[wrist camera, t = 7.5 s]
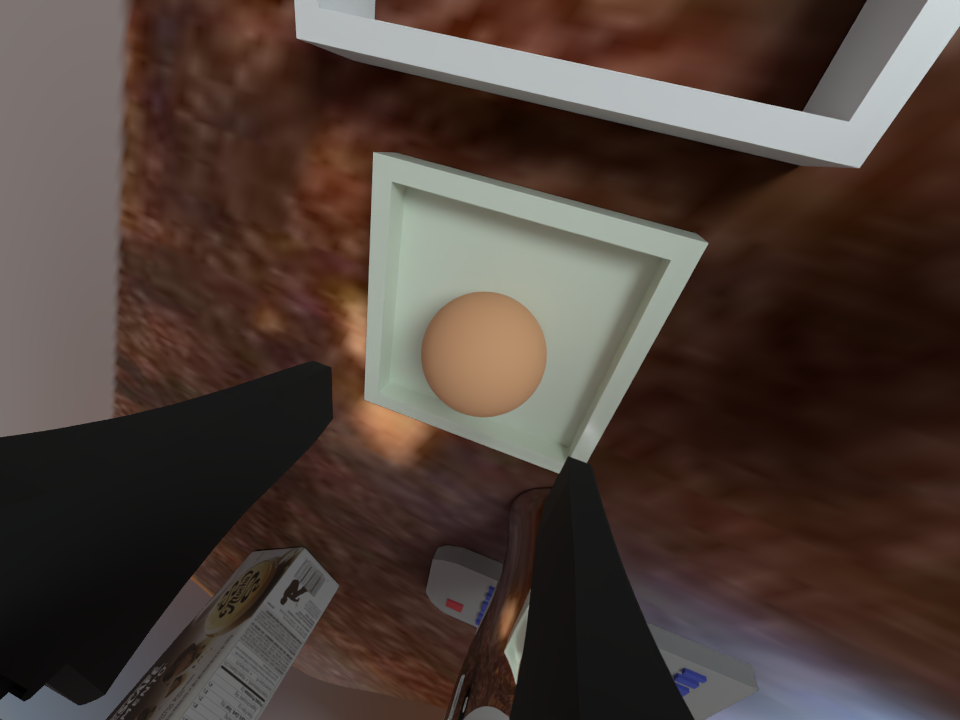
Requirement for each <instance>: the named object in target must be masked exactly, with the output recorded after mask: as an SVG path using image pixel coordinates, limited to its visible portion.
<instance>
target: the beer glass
mask: <svg viewBox="0 0 960 720" xmlns="http://www.w3.org/2000/svg"><path fill="white" fill-rule="evenodd" d="M551 489H552V488H539V489H534V490H530V491H527V492H525V493H523V494H521V495H519V496H518V497H517V498H516V499H515V500H514V502H513V503H512V505H511V507H510V511H509V518H508V538H507V549H506V554H505V560H504V564H503V567H502V570H501V573H500V577H499V579H498V582H497V584H496V587H495V589H494V591H493V594H492V596H491V599H490V601H489V603H488V605H487V608H486V610H485V612H484V614H483V617H482V619H481V621H480V624H479V626H478V628H477V631H476V633H475V635H474V638H473V640H472V642H471V645H470V647H469V649H468V652H467V654H466V657H465V660H464V662H463V665H462V667H461V670H460V673H459V675H458V678H457V681H456V683H455V686H454V689H453V692H452V695H451V699H450V702H449V705H448V708H447V712H446V715H445V718H444V720H509V718H510V713H511V708H512V704H513V699H514V694H515V689H516V684H517V679H518V674H519V669H520V664H521V659H522V654H523V648H524V641H525V634H526V627H527V618H528V610H529V601H530V592H531V583H532V574H533V565H534V557H535V548H536V540H537V535H538V530H539V526H540V521H541V517H542V513H543V508H544V504H545V501H546V499H547V497H548V495H549V493H550V491H551Z"/></svg>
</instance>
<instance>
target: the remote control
mask: <svg viewBox="0 0 960 720" xmlns="http://www.w3.org/2000/svg"><path fill="white" fill-rule="evenodd" d="M502 567H503V564H502V563H499V562H497V561H495V560H492V559H490V558H487V557H485V556H482V555H480V554H477V553H475V552H473V551H470V550H468V549H465V548H462V547H456V546H449V545H447V546H442V547H438V548H437V550H436V553H435V555H434V557H433V560H432V564H431V569H430V574H429V579H428V583H427V588H426V594H427V596H428V597H429V599H430V601H431V602H432V603H433V604H434V605H435V606H436V607H437V608H439V609H440V610H441V611H442V612H443V613H446V614H448V615H450V616H452V617H455V618H457V619H459V620H461V621H464V622H466V623H468V624H471V625H473V626H475V627H477V628H478V626H479V624H480V621H481V619H482V617H483V614H484V612H485V610H486V608H487V605H488V603H489V601H490V599H491V596H492V594H493V591H494V589H495V587H496V584H497V582H498V579H499V577H500V573H501V570H502ZM647 625H648V627H649V629H650V631H651V633H652V636H653V638H654V640H655V642H656V644H657V646H658V649H659V651H660V653H661V655H662V657H663V659H664V661H665V663H666V665H667V667H668V669H669V671H670V673H671V675H672V677H673V679H674V681H675V683H676V685H677V687H678V689H679V691H680V693H681V695H682V697H683V699H684V701H685V702H686V704H687V706H688V708H689V710H690V712H691V713H692V715H693V717H694V719H695V720H705V719H707V718H709V717H710V716H712V715H714V714H716V713H718V712H720V711H721V710H723V709H725V708H727V707H729V706H731V705H732V704H734V703H736V702H738V701H740V700H742V699H743V698H745V697H747V696H749V695H751V694H753V693H754V692H756V691H758V690H759V688H758V685H757V682H756V678H755V675H754V672H753V668H752V665H749V664H747V663H744V662H742V661H739V660H737V659H734V658H732V657H730V656H727V655H725V654H722V653H720V652H717V651H715V650H712V649H710V648H707V647H705V646H703V645H700V644H698V643H695V642H693V641H690V640H688V639H685V638H683V637H681V636H678V635H676V634H673V633H671V632H668V631H666V630H663V629H661V628H659V627H656V626H654V625H651V624H649V623H647Z"/></svg>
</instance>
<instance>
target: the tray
mask: <svg viewBox="0 0 960 720" xmlns="http://www.w3.org/2000/svg"><path fill="white" fill-rule="evenodd" d="M707 245H708V242H706V241H705V240H704V239H703V238H701V237H700V236H699V235H698V234H696V233H692V232H689V231H685V230H681V229H677V228H674V227H670V226H666V225H663V224H659V223H655V222H651V221H648V220H644V219H640V218H637V217H633V216H629V215H625V214H622V213H618V212H614V211H611V210H607V209H603V208H599V207H596V206H592V205H588V204H585V203H581V202H577V201H573V200H570V199H566V198H562V197H559V196H555V195H551V194H547V193H544V192H540V191H536V190H533V189H529V188H525V187H521V186H518V185H514V184H510V183H507V182H503V181H499V180H496V179H492V178H488V177H484V176H481V175H477V174H473V173H470V172H466V171H462V170H458V169H455V168H451V167H447V166H444V165H440V164H436V163H432V162H429V161H425V160H421V159H418V158H414V157H410V156H406V155H403V154H399V153H391V152H373V176H372V203H371V230H370V257H369V284H368V312H367V339H366V366H365V393H364V400H366V401H369V402H371V403H374V404H377V405H379V406H382V407H385V408H387V409H390V410H392V411H395V412H398V413H400V414H403V415H406V416H408V417H411V418H414V419H416V420H419V421H421V422H424V423H427V424H429V425H432V426H435V427H437V428H440V429H443V430H445V431H448V432H451V433H453V434H456V435H458V436H461V437H464V438H466V439H469V440H472V441H474V442H477V443H480V444H482V445H485V446H487V447H490V448H493V449H495V450H498V451H501V452H503V453H506V454H509V455H511V456H514V457H516V458H519V459H522V460H524V461H527V462H530V463H532V464H535V465H538V466H540V467H543V468H546V469H548V470H551V471H553V472H556V473H560V471H561V469H562V467H563V465H564V463H565V461H566V459H567V457H568V456H569V457H572V458H575V459H577V460H580V461H583V462H585V463H587V461H588V460H589V458H590V456H591V454H592V452H593V450H594V449H595V447H596V445H597V443H598V441H599V440H600V438H601V436H602V434H603V432H604V431H605V429H606V427H607V425H608V423H609V422H610V420H611V418H612V416H613V414H614V413H615V411H616V409H617V407H618V405H619V404H620V402H621V400H622V398H623V396H624V395H625V393H626V391H627V389H628V387H629V386H630V384H631V382H632V380H633V378H634V377H635V375H636V373H637V371H638V369H639V368H640V366H641V364H642V362H643V360H644V359H645V357H646V355H647V353H648V351H649V350H650V348H651V346H652V344H653V342H654V341H655V339H656V337H657V335H658V333H659V332H660V330H661V328H662V326H663V324H664V323H665V321H666V319H667V317H668V315H669V314H670V312H671V310H672V308H673V306H674V305H675V303H676V301H677V299H678V297H679V296H680V294H681V292H682V290H683V288H684V287H685V285H686V283H687V281H688V279H689V277H690V276H691V274H692V272H693V270H694V268H695V267H696V265H697V263H698V261H699V259H700V258H701V256H702V254H703V252H704V250H705V249H706V247H707ZM473 292H495V293H500V294H503V295H506V296H508V297H511V298H513V299H515V300H516V301H518V302H520V303H521V304H522V305H524V306H525V307H526V308H527V309H528V310H529V311H530V312H531V313H532V315H533V316H534V317H535V318H536V320H537V322H538V323H539V325H540V327H541V329H542V331H543V334H544V338H545V342H546V348H547V361H546V367H545V371H544V374H543V377H542V380H541V382H540V384H539V386H538V387H537V389H536V390H535V392H534V393H533V394H532V396H531V397H530V398H529V399H528V400H527V401H525V402H524V403H523V404H522V405H521V406H519V407H518V408H516V409H514V410H512V411H510V412H508V413H505V414H503V415H498V416H494V417H474V416H470V415H466V414H463V413H460V412H458V411H455V410H454V409H452V408H450V407H449V406H447V405H446V404H445V403H444V402H442V401H441V400H440V399H439V398H438V397H437V396H436V395H435V393H434V392H433V391H432V389H431V388H430V386H429V384H428V382H427V380H426V377H425V375H424V372H423V368H422V361H421V348H422V341H423V337H424V334H425V331H426V329H427V327H428V325H429V323H430V321H431V320H432V318H433V317H434V316H435V314H436V313H437V312H438V311H439V310H440V309H441V308H442V307H443V306H445V305H446V304H447V303H448V302H450V301H452V300H453V299H455V298H457V297H460V296H462V295H465V294H468V293H473Z"/></svg>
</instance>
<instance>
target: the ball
mask: <svg viewBox="0 0 960 720" xmlns="http://www.w3.org/2000/svg"><path fill="white" fill-rule="evenodd" d="M421 361H422V368H423V372H424V375H425V377H426V380H427V382H428V384H429V386H430V388H431V389H432V391H433V392H434V393H435V395H436V396H437V397H438V398H439V399H440V400H441V401H442V402H444V403H445V404H446V405H447V406H449V407H450V408H452V409H454V410H455V411H458V412H460V413H463V414H466V415H470V416H474V417H494V416H498V415H503V414H505V413H508V412H510V411H512V410H514V409H516V408H518V407H519V406H521V405H522V404H523V403H524V402H525V401H527V400H528V399H529V398H530V397H531V396H532V394H533V393H534V392H535V390H536V389H537V387H538V386H539V384H540V382H541V380H542V377H543V374H544V371H545V367H546V361H547V348H546V342H545V338H544V334H543V331H542V329H541V327H540V325H539V323H538V322H537V320H536V318H535V317H534V316H533V315H532V313H531V312H530V311H529V310H528V309H527V308H526V307H525V306H524V305H522V304H521V303H520V302H518V301H516V300H515V299H513V298H511V297H508V296H506V295H503V294H500V293H495V292H473V293H468V294H465V295H462V296H460V297H457V298H455V299H453V300H452V301H450V302H448V303H447V304H446V305H445V306H443V307H442V308H441V309H440V310H439V311H438V312H437V313H436V314H435V316H434V317H433V318H432V320H431V321H430V323H429V325H428V327H427V329H426V331H425V334H424V337H423V341H422V348H421Z"/></svg>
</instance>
